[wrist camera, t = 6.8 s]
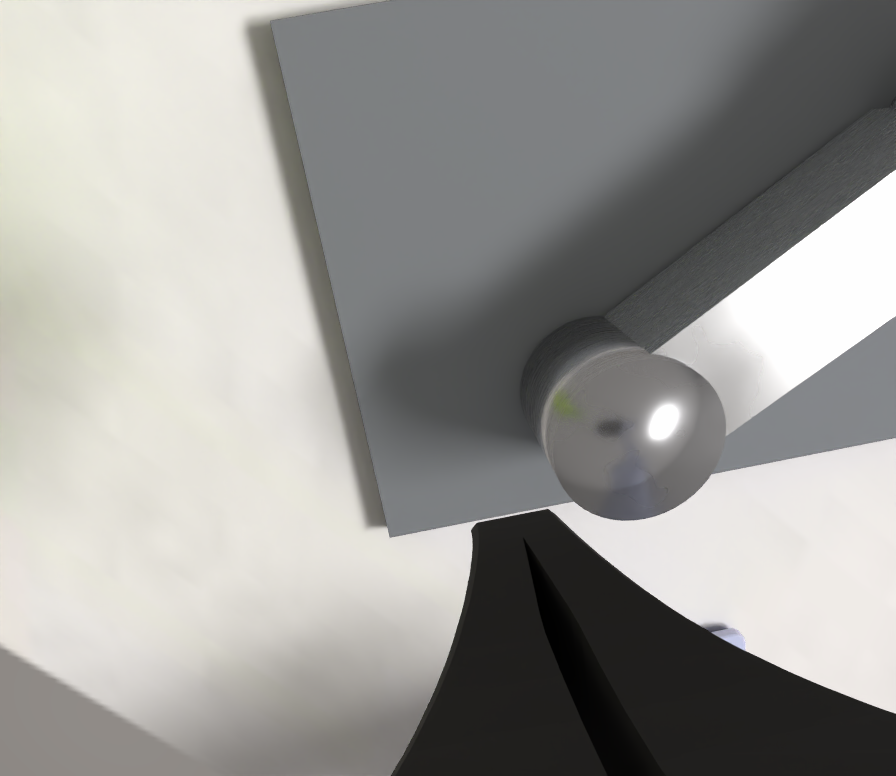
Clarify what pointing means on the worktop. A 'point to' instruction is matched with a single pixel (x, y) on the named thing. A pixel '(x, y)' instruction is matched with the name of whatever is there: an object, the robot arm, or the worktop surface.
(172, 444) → the worktop surface
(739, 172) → the duct board
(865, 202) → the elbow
